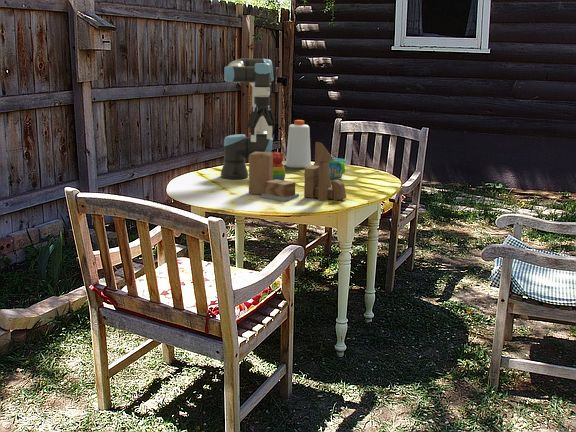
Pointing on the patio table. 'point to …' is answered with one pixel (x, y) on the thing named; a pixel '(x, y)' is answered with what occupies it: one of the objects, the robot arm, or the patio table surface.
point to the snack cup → (337, 167)
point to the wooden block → (260, 171)
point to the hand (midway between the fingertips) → (261, 140)
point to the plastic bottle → (298, 145)
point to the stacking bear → (278, 166)
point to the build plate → (279, 197)
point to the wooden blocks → (322, 178)
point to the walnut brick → (280, 188)
